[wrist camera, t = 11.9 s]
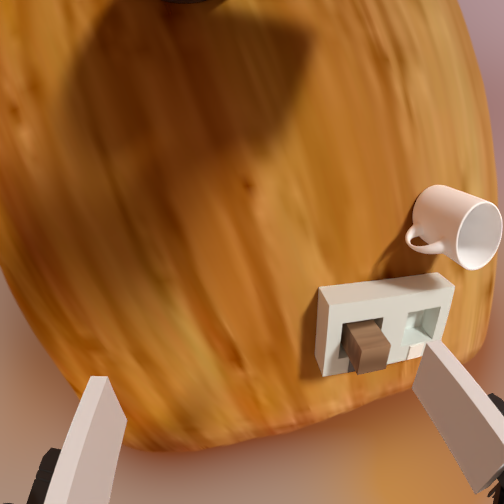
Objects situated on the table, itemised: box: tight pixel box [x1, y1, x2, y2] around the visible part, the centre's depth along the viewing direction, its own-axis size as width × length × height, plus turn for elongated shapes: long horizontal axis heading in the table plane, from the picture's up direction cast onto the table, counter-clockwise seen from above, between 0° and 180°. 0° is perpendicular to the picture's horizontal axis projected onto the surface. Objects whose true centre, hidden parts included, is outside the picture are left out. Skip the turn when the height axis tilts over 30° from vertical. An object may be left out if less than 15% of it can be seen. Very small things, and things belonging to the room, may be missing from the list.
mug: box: [405, 185, 502, 270], centre depth 36 cm, size 9×12×11 cm
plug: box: [340, 319, 391, 375], centre depth 40 cm, size 4×4×9 cm
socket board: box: [315, 272, 455, 376], centre depth 43 cm, size 12×20×5 cm, turn 93°
